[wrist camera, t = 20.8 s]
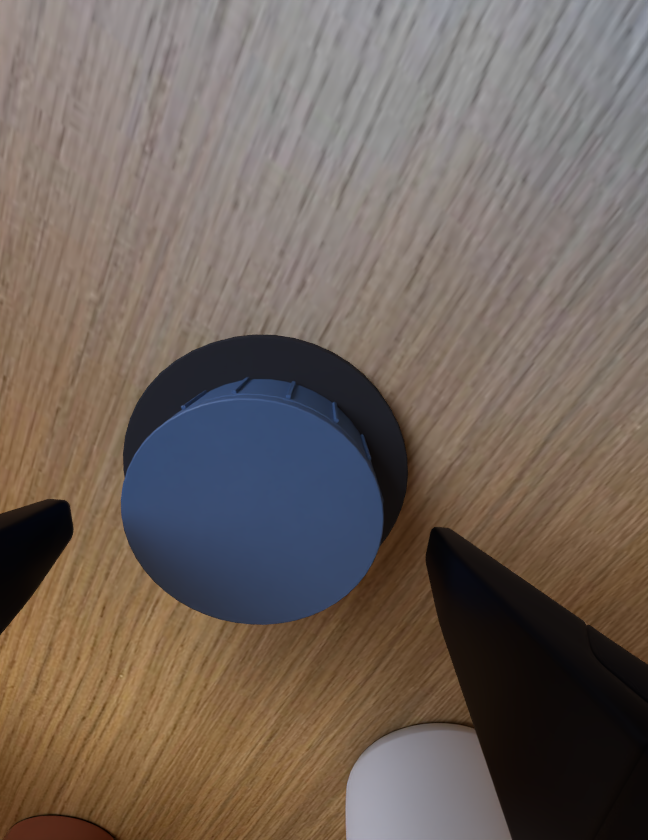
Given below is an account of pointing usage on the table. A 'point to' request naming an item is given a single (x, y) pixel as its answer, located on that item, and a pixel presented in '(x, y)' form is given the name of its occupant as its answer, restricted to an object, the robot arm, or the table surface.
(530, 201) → the table surface
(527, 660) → the robot arm
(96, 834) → the jar
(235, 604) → the jar lid
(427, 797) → the mug
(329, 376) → the coaster
